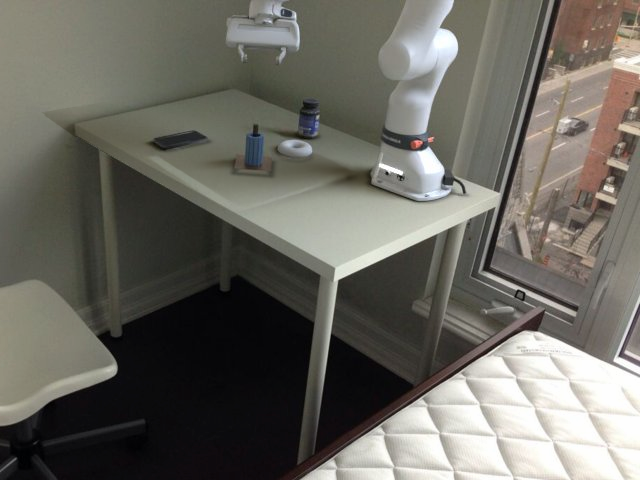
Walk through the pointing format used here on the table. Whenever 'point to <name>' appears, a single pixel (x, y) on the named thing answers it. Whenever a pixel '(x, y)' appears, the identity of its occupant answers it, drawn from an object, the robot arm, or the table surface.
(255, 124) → the dowel stand
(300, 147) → the donut
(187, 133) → the phone
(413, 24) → the robot arm
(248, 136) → the tube
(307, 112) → the pill bottle
